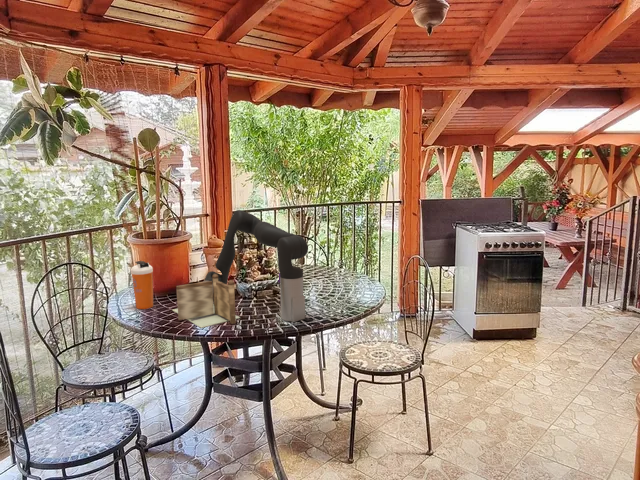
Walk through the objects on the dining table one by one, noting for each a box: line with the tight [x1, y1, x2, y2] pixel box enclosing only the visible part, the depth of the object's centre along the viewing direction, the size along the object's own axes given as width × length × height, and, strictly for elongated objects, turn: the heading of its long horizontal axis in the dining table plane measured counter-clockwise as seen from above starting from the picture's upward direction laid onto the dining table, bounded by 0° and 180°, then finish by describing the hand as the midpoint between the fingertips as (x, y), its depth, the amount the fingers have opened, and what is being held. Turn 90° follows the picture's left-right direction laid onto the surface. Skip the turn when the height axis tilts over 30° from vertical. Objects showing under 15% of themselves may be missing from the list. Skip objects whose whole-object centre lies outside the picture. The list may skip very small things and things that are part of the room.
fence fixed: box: [212, 274, 237, 325], centre depth 178 cm, size 16×2×17 cm, turn 40°
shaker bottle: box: [130, 260, 154, 310], centre depth 194 cm, size 9×9×20 cm
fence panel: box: [175, 281, 214, 321], centre depth 179 cm, size 14×1×14 cm, turn 120°
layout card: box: [171, 303, 241, 329], centre depth 186 cm, size 28×17×1 cm, turn 40°
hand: (187, 303), depth 179 cm, fingers closed
